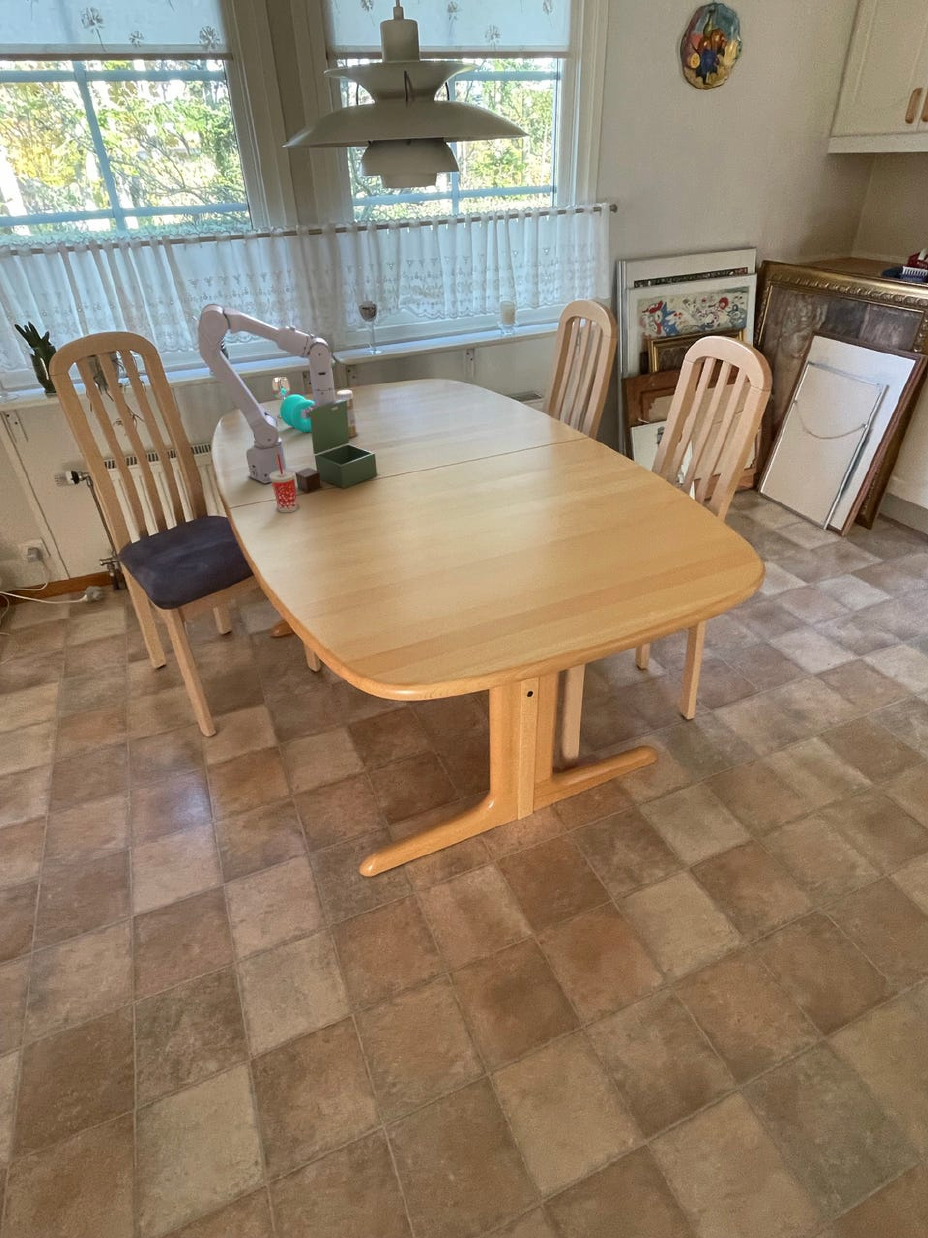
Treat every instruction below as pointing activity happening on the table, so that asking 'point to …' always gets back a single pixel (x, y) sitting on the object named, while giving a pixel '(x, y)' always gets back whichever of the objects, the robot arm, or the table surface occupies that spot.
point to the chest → (346, 465)
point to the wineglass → (281, 388)
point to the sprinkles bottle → (349, 411)
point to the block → (308, 480)
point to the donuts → (296, 412)
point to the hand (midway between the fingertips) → (330, 437)
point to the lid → (329, 426)
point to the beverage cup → (284, 488)
